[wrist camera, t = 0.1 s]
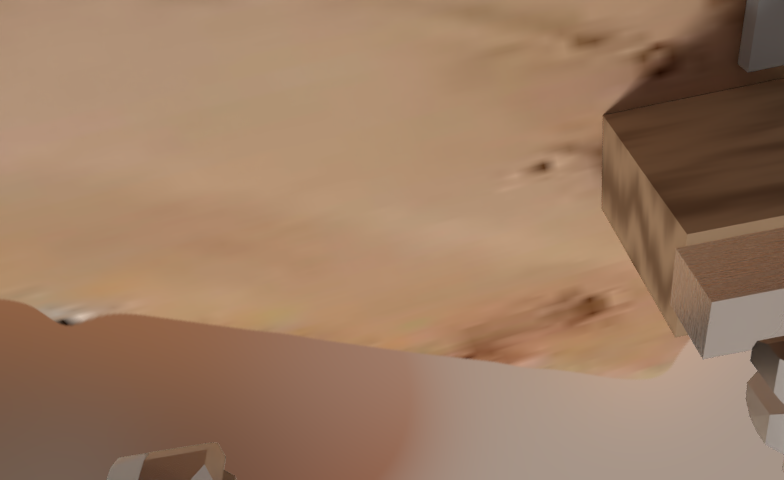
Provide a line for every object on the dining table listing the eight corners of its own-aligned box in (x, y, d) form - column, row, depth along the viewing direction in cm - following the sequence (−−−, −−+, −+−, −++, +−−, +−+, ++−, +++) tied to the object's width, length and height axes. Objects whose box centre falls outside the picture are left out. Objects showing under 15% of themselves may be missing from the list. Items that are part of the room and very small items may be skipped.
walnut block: (602, 115, 52) (687, 234, 40) (787, 77, 51) (927, 187, 39) (601, 208, 57) (675, 337, 46) (767, 175, 57) (885, 297, 45)
